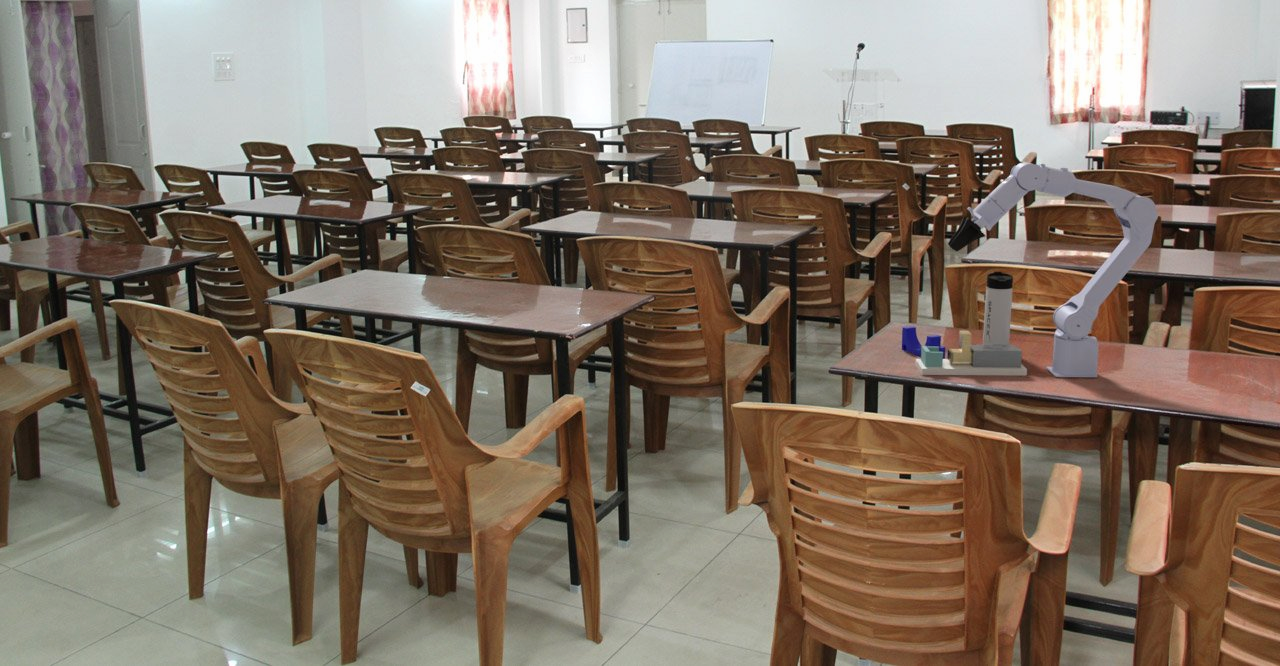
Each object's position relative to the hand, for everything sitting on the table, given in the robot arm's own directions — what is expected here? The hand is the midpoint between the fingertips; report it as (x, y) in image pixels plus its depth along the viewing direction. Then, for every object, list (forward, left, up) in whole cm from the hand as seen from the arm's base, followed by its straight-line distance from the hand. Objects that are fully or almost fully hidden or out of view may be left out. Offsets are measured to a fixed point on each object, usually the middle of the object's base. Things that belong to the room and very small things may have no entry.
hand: (951, 247), depth 256 cm
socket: (+3, -2, -28) cm, 28 cm away
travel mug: (-16, -20, -30) cm, 39 cm away
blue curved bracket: (+2, -18, -30) cm, 35 cm away
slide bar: (-9, -2, -27) cm, 29 cm away
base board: (-6, -2, -30) cm, 30 cm away
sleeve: (-12, -2, -28) cm, 30 cm away
